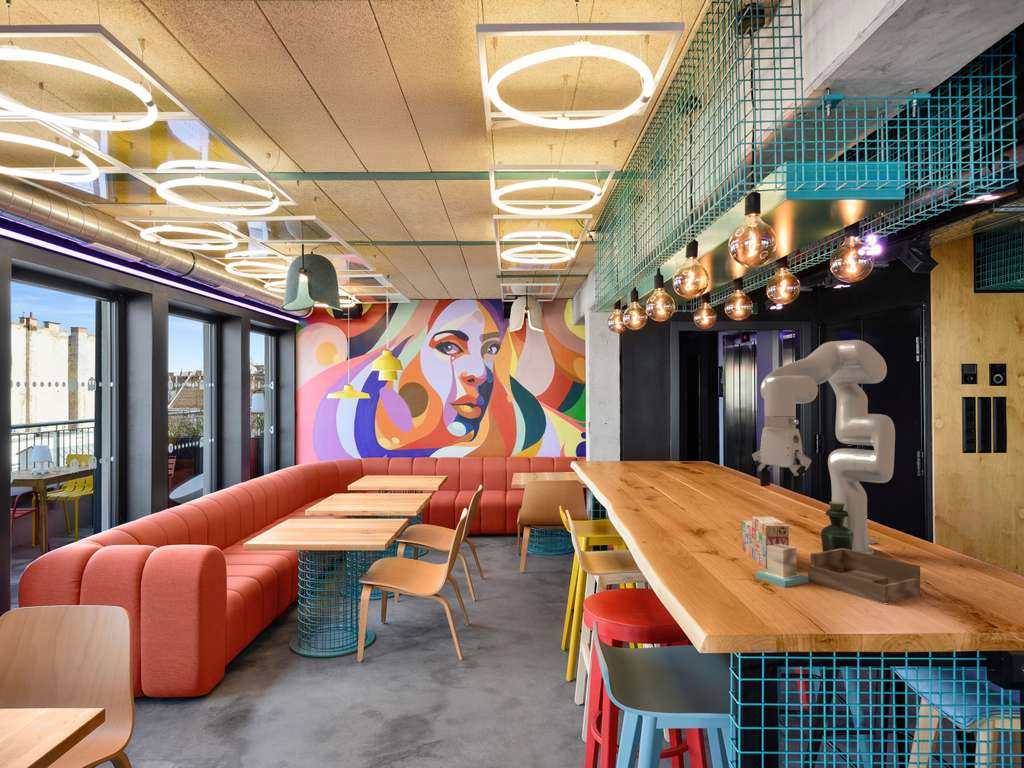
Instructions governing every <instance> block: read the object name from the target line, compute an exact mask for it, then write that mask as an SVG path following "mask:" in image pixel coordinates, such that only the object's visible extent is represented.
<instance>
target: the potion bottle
mask: <svg viewBox="0 0 1024 768" xmlns="http://www.w3.org/2000/svg"><path fill="white" fill-rule="evenodd" d="M828 503H829V508H830V509H826V510H825V515H826V516H827V517H828V518H829V520H830V521H829V522H830V524H829V525H827V526H825V527H823V528H822V530H821V532H820V537H821V546H822V547H821V548H822V552H823V551H829V550H834V549H840V548H844V549H849V550H852V545H853V533H852V531H851V530H849V529H848V528H846V527H844V526H843V522H844V518H845V517H848V516H849V515H848V512H847V511H844V510H843V508H844V503H842V502H832V501H829V502H828Z"/></svg>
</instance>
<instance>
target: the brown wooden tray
mask: <svg viewBox="0 0 1024 768" xmlns="http://www.w3.org/2000/svg"><path fill="white" fill-rule="evenodd" d="M807 576H809V582H808V583H813V584H815V585H817V586H821V587H822V586H823V587H826V588H829V589H832V590H836V591H839V592H842V591H843V592H842V593H846V594H848V595H849V594H850V595H852V594H853V595H854V596H856V597H859V596H860V598H862V597H863V599H866V600H869V599H870V601H873V600H874V601H873V602H876V601H878V602H877V603H879V602H882V603H881V604H883V603H888V604H890V603H889V602H892V603H894V602H893V601H896V602H898V601H897V600H900V601H902V600H901V599H904V600H906V599H905V598H908V599H911V598H914V596H915V597H919V596H921V565H918V564H917V565H916V564H913V563H908V562H904V561H900V560H896V559H892V558H887V557H882V556H878V555H874V554H873V555H870V554H866V553H862V552H857V551H853V550H849V549H844V548H840V549H834V550H829V551H823V550H822V551H818V552H812V553H810V565H807ZM918 595H919V596H918ZM910 597H911V598H910Z"/></svg>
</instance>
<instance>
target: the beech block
mask: <svg viewBox="0 0 1024 768" xmlns="http://www.w3.org/2000/svg"><path fill="white" fill-rule="evenodd" d="M797 568H798V566H797V547H795V546H790V545H789V546H787V545H783V544H775V545H769V546H767V569H766V570H767V573H770V574H773V575H776V576H780V577H783V578H784V577H789V576H794V575H797V573H798V572H797Z"/></svg>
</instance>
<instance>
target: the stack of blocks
mask: <svg viewBox="0 0 1024 768" xmlns="http://www.w3.org/2000/svg"><path fill="white" fill-rule="evenodd" d="M789 527H790V526H789V525H788V524H786V523H785V522H784V521H782V520H779V519H778V518H775V517H774V516H751V520H741V530H742V550H743V552H745V553H746V554H747V555H748V554H749V557H751V558H752V557H753V558H752V559H754V560H755V561H756V560H757V561H758V562H757V561H756V562H757V563H759V565H761V564H762V565H763V566H764V567H765V568H764V567H763V566H762V565H761V566H762V567H763V568H764V569H765V570H767V546H769V545H775V544H783V545H787V546H790V545H789V544H790V543H789V541H790V537H789V534H790V533H789V531H790V530H789V529H790V528H789Z"/></svg>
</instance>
